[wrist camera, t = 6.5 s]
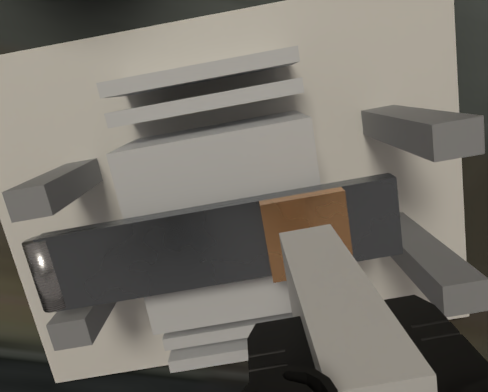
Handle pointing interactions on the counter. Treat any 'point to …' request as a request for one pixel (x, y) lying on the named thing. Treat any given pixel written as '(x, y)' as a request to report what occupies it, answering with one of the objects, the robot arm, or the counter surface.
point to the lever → (208, 243)
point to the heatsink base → (330, 97)
